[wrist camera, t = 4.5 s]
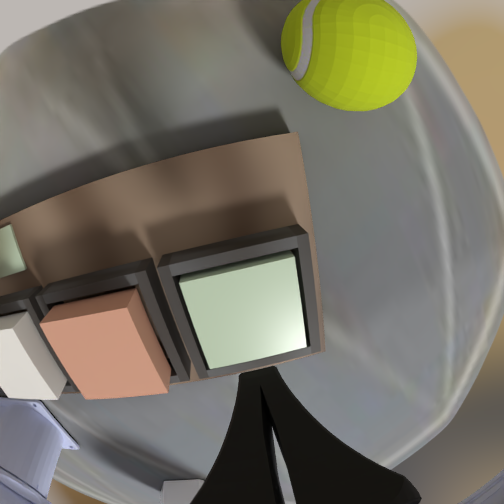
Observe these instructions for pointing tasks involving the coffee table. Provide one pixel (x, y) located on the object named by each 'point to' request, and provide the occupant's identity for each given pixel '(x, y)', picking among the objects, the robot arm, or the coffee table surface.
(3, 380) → the key white
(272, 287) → the key sage
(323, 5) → the tennis ball
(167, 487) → the jar
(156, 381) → the key terracotta
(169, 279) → the console
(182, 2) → the coffee table surface
